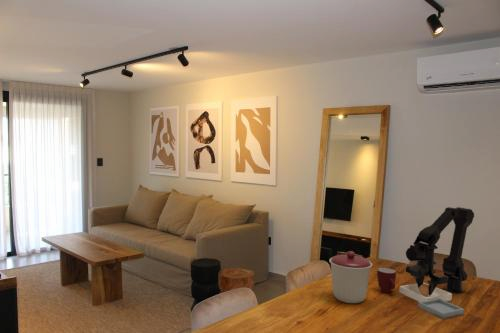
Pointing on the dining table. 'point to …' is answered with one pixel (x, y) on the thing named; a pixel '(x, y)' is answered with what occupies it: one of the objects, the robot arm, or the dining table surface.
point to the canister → (350, 277)
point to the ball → (424, 289)
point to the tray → (441, 308)
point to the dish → (415, 294)
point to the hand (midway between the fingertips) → (425, 292)
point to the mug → (386, 279)
